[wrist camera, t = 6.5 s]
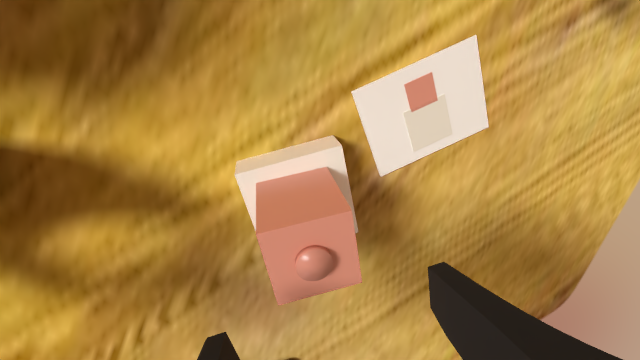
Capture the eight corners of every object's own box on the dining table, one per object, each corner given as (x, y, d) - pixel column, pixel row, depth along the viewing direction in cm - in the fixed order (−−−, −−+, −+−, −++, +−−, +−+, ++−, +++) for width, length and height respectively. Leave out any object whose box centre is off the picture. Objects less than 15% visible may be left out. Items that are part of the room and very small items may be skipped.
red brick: (336, 225, 19) (364, 288, 14) (272, 241, 18) (278, 312, 13) (326, 166, 17) (354, 215, 12) (255, 182, 17) (255, 239, 12)
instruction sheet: (487, 126, 20) (489, 127, 20) (380, 176, 20) (380, 177, 20) (475, 34, 18) (477, 34, 18) (351, 91, 18) (351, 91, 18)
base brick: (347, 212, 22) (358, 232, 19) (265, 237, 21) (266, 260, 19) (331, 133, 19) (341, 145, 17) (236, 158, 18) (234, 174, 16)
